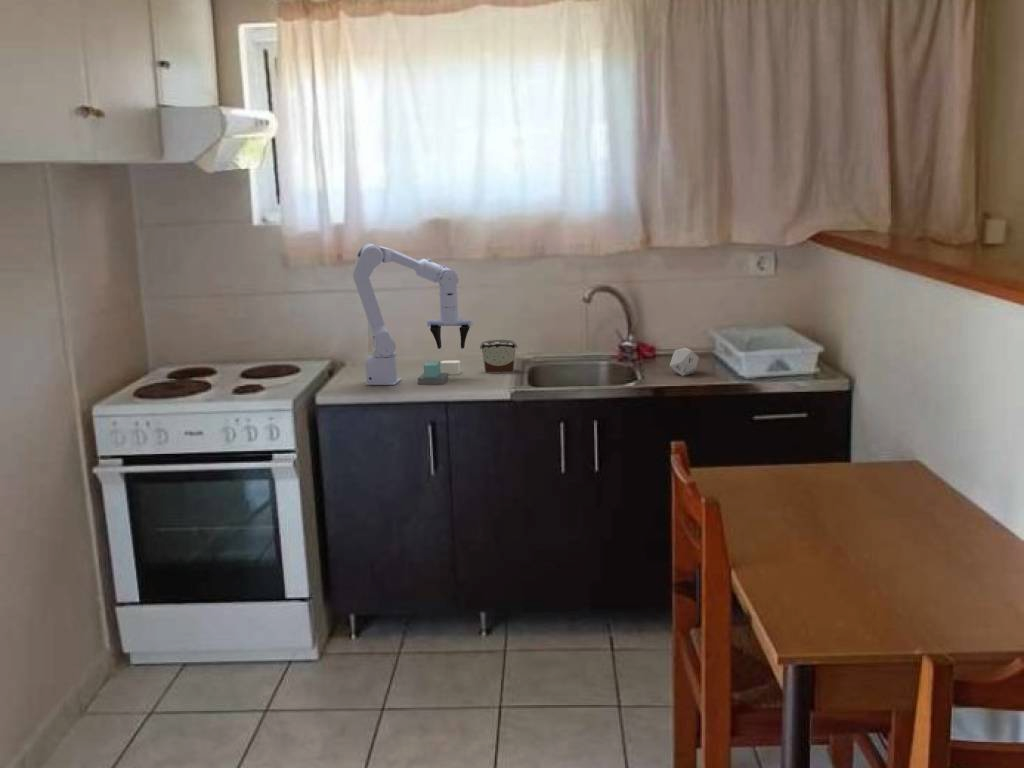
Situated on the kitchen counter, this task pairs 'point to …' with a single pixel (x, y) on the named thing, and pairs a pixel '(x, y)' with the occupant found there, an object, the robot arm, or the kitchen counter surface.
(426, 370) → the teal brick
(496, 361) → the food container
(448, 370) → the cream brick
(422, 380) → the charcoal slab
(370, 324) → the robot arm
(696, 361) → the die
